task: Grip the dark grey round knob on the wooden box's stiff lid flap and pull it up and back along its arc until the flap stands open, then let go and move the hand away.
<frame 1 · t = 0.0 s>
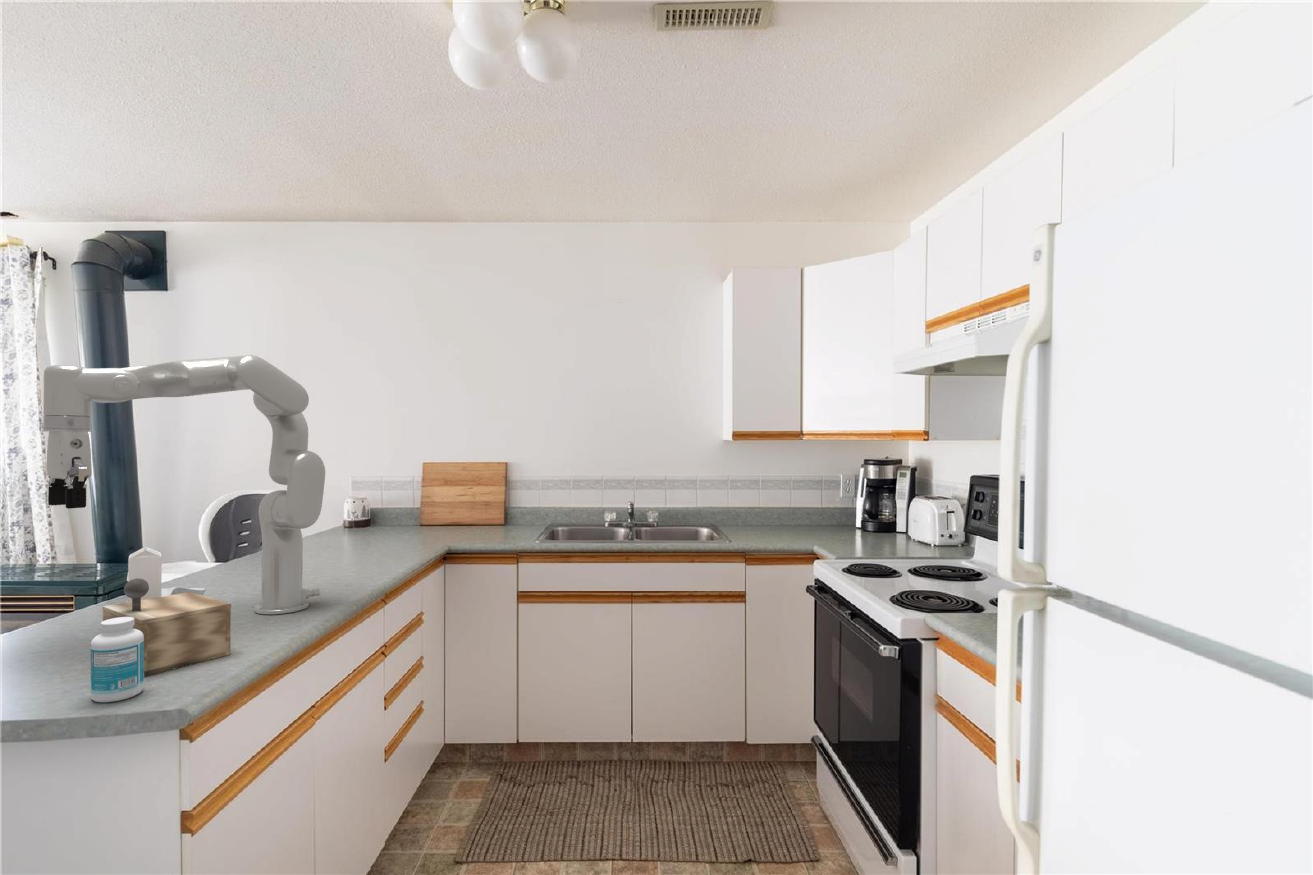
hand: (67, 506, 140), 31 cm above the countertop, tool pointing down, fingers open, 9 cm apart
spoon rest: (173, 611, 177), on the countertop
pill bottle: (117, 696, 119), on the countertop
wooden box: (167, 657, 139), on the countertop
flap: (167, 591, 139), point 14 cm above the countertop, hinge at 0.0°
milk: (144, 639, 152), on the countertop
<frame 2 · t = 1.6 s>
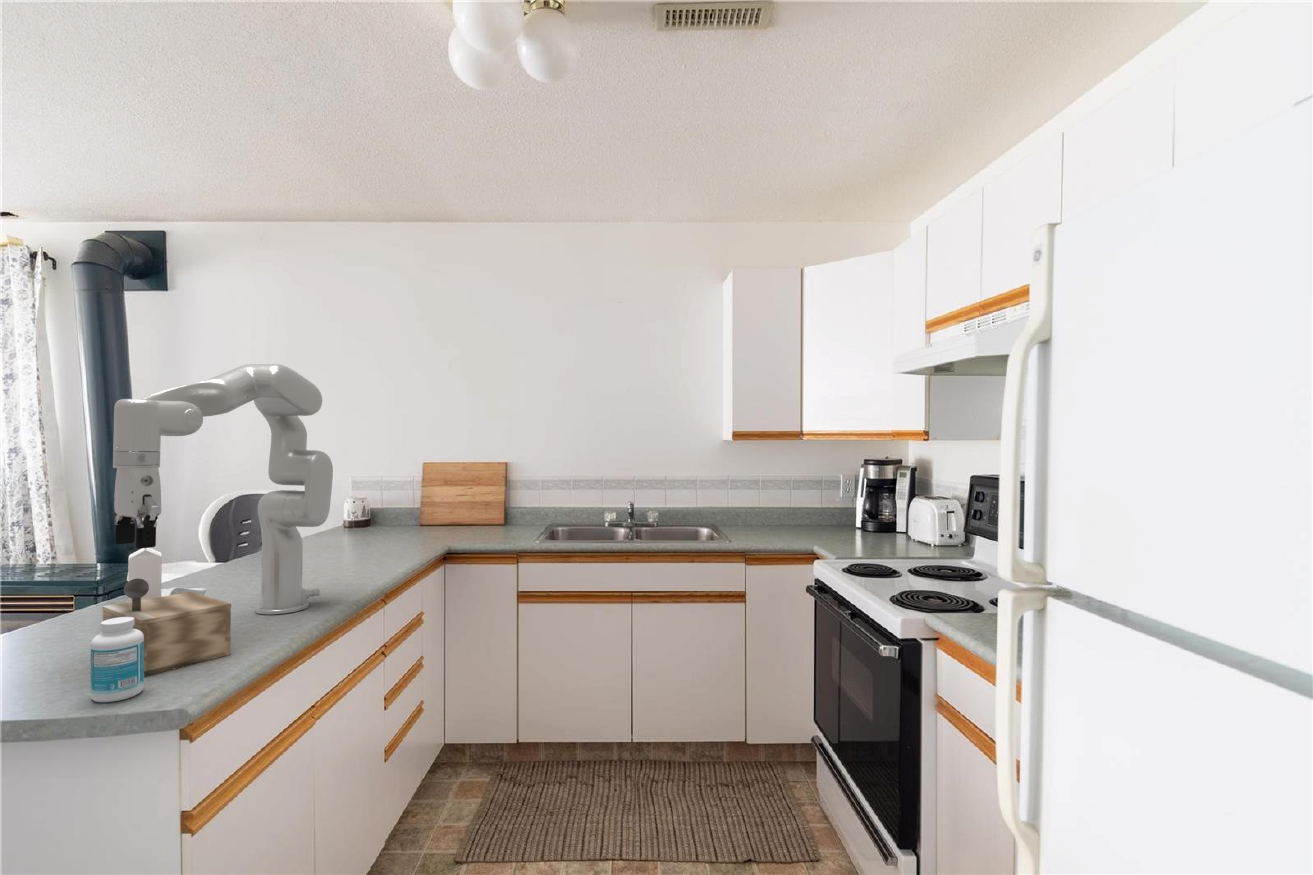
hand: (135, 545, 134), 24 cm above the countertop, tool pointing down, fingers open, 9 cm apart
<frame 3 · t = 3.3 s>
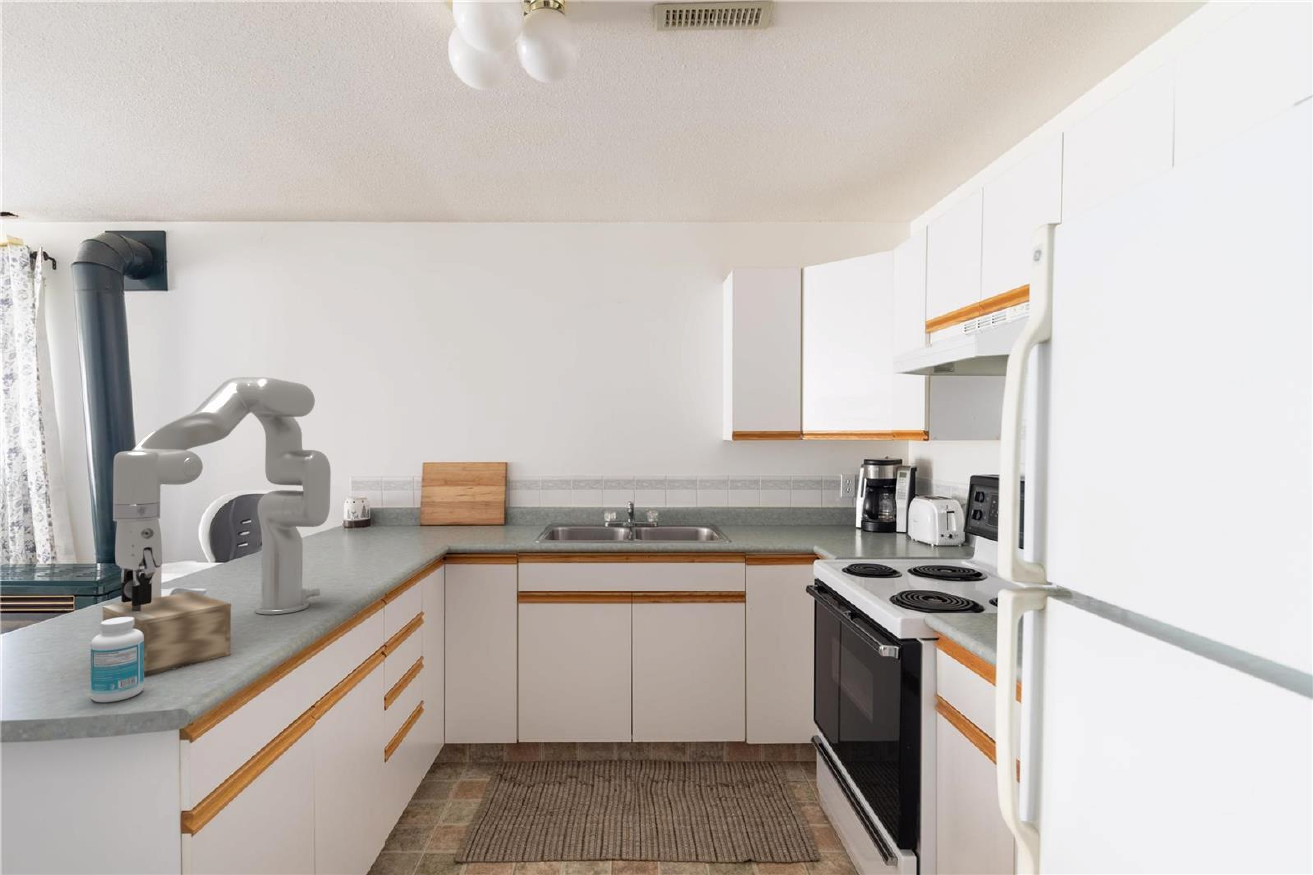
hand: (136, 601, 135), 13 cm above the countertop, tool pointing down, fingers closed on flap, 4 cm apart
flap: (167, 591, 139), point 14 cm above the countertop, hinge at 0.0°, touching gripper
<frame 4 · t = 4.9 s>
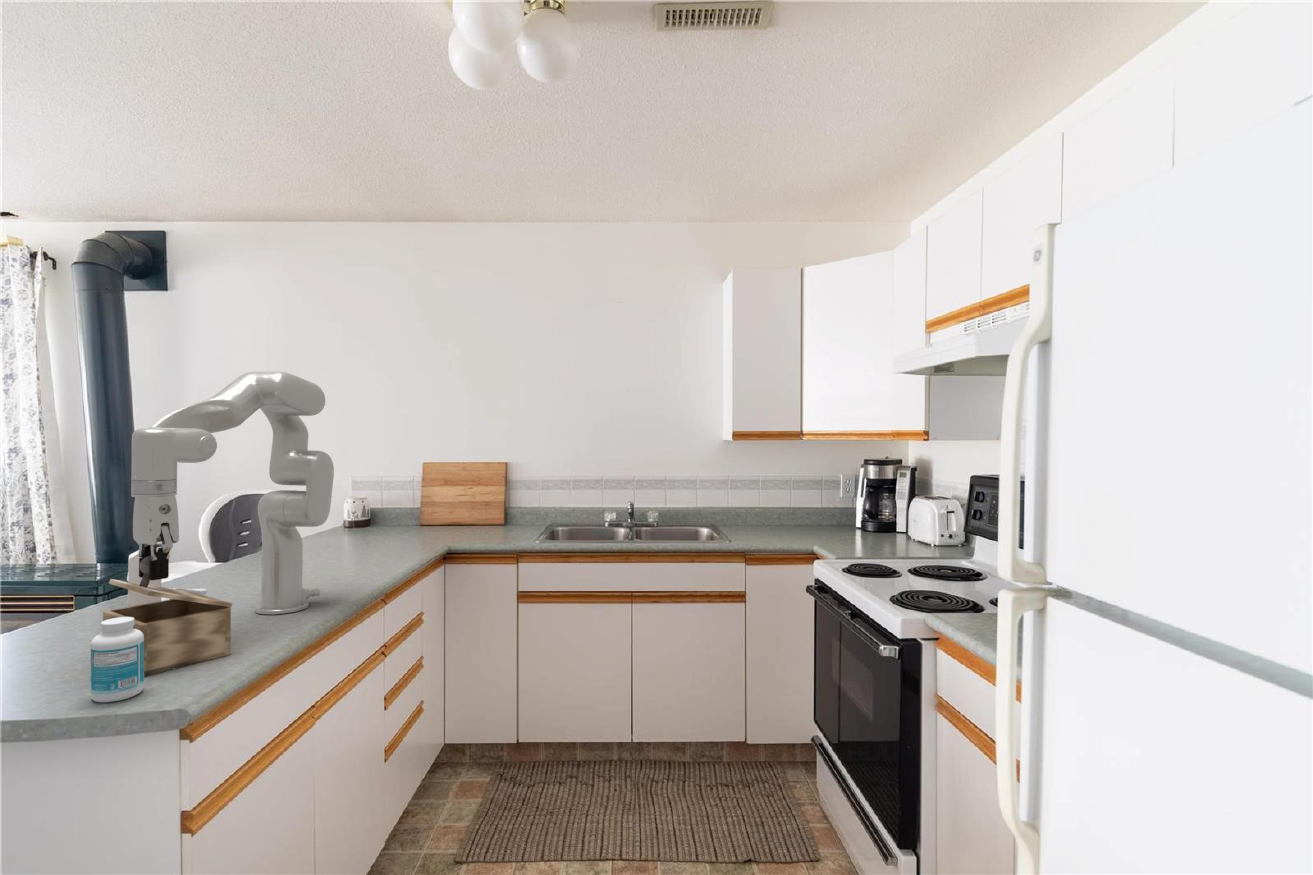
hand: (153, 576, 137), 17 cm above the countertop, tool pointing down, fingers closed on flap, 4 cm apart
flap: (177, 578, 141), point 16 cm above the countertop, hinge at 20.0°, touching gripper
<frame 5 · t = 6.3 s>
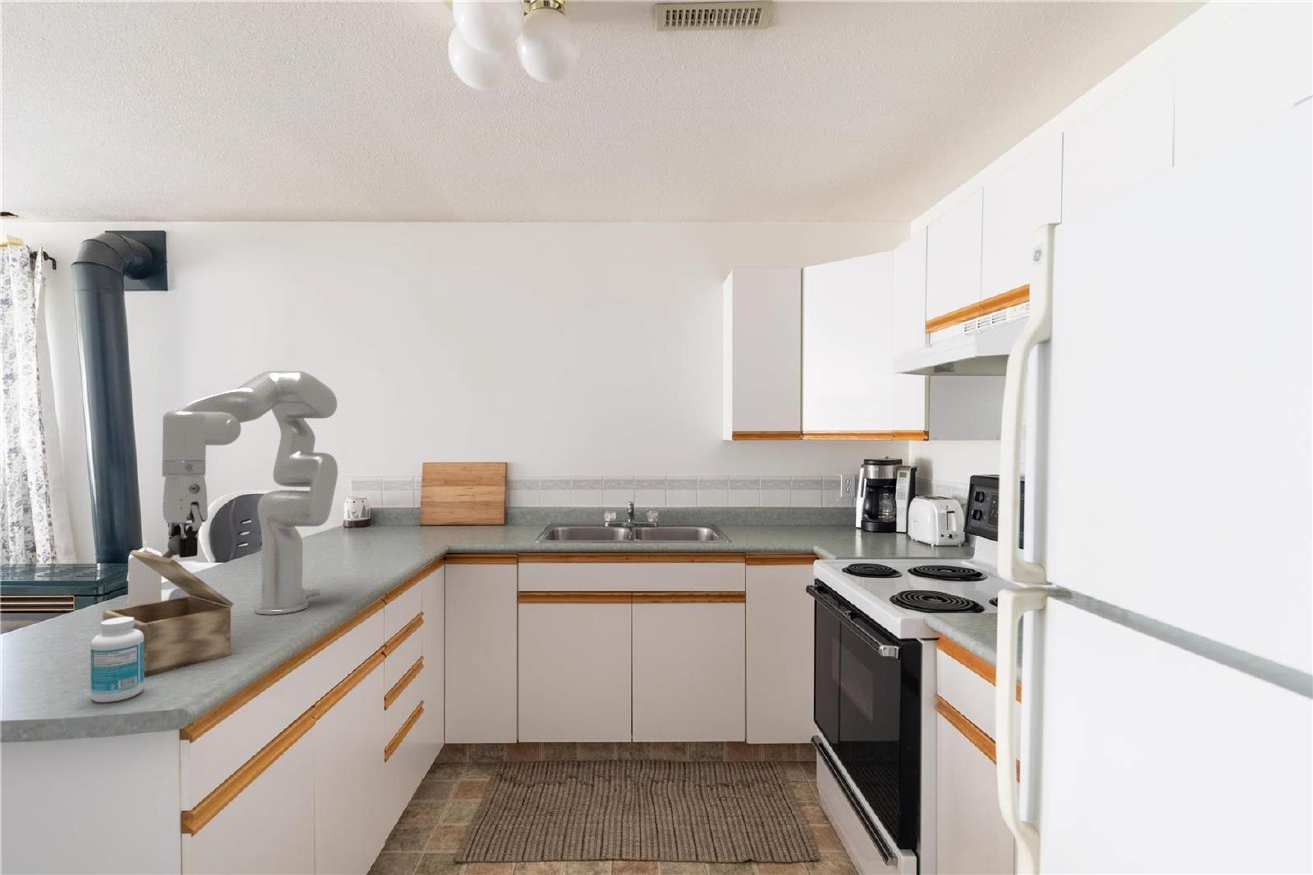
hand: (183, 554, 142), 21 cm above the countertop, tool pointing down, fingers closed on flap, 4 cm apart
flap: (193, 566, 143), point 18 cm above the countertop, hinge at 44.2°, touching gripper
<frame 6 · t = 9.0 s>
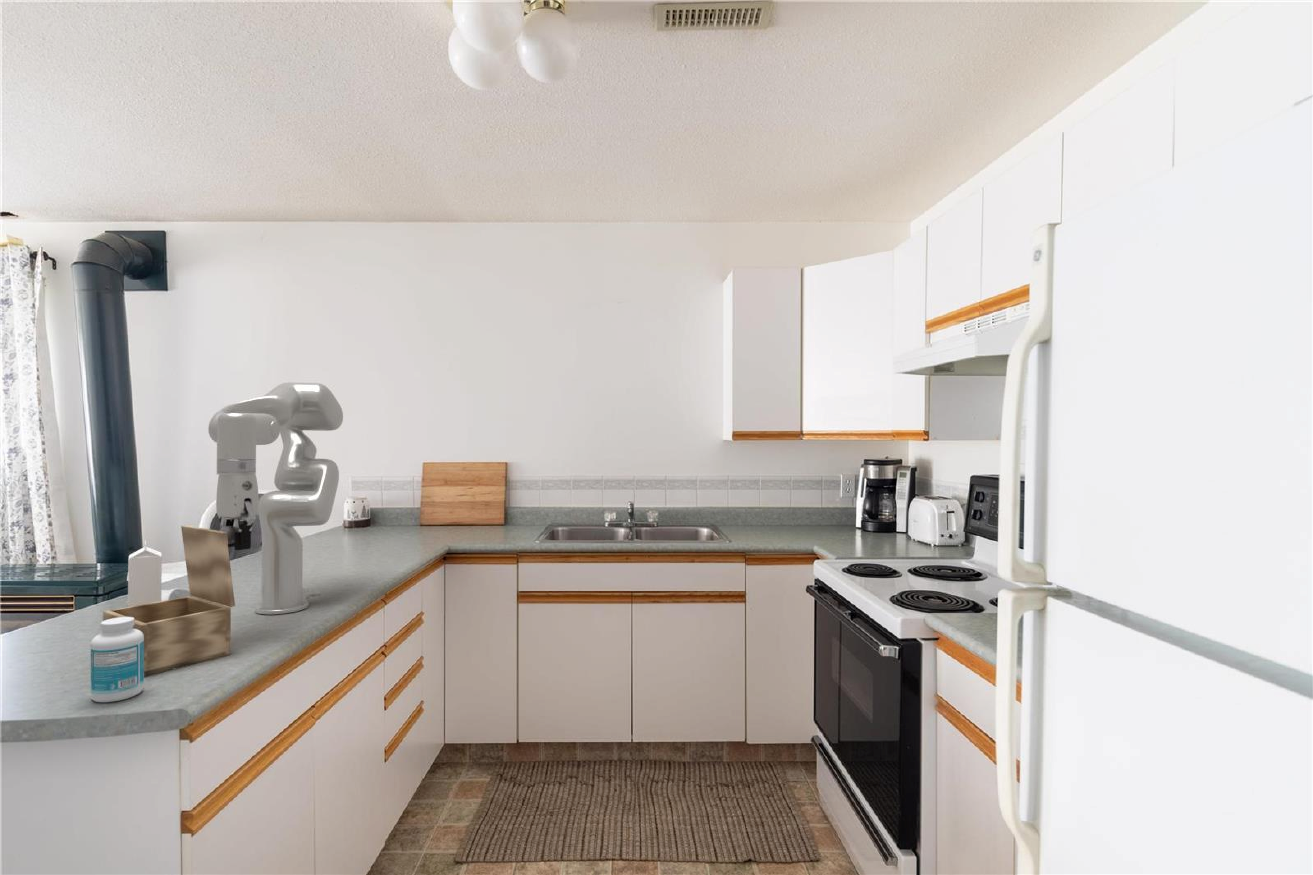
hand: (235, 547, 150), 21 cm above the countertop, tool pointing down, fingers open, 5 cm apart
flap: (223, 561, 148), point 18 cm above the countertop, hinge at 83.2°
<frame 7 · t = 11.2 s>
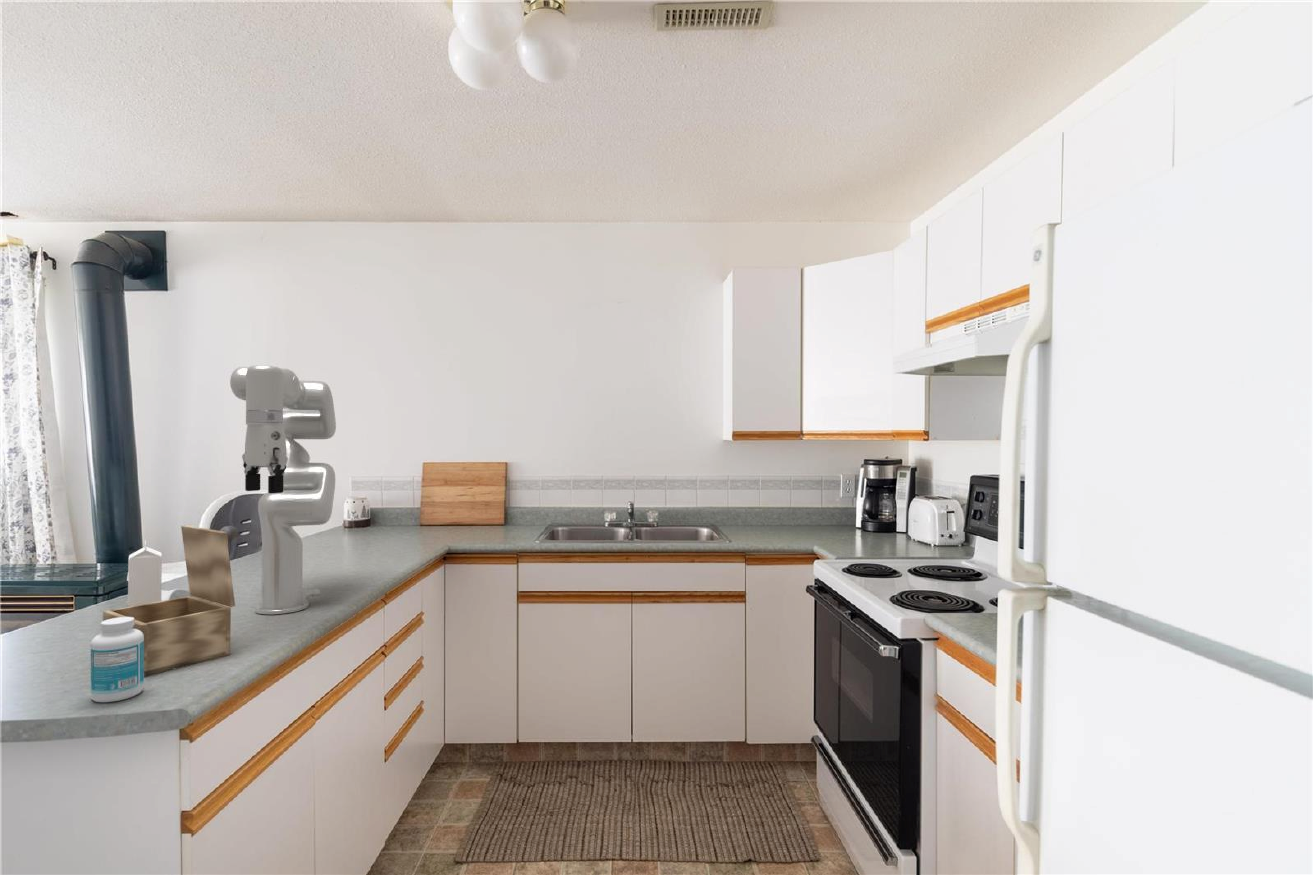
hand: (264, 491, 156), 33 cm above the countertop, tool pointing down, fingers open, 9 cm apart
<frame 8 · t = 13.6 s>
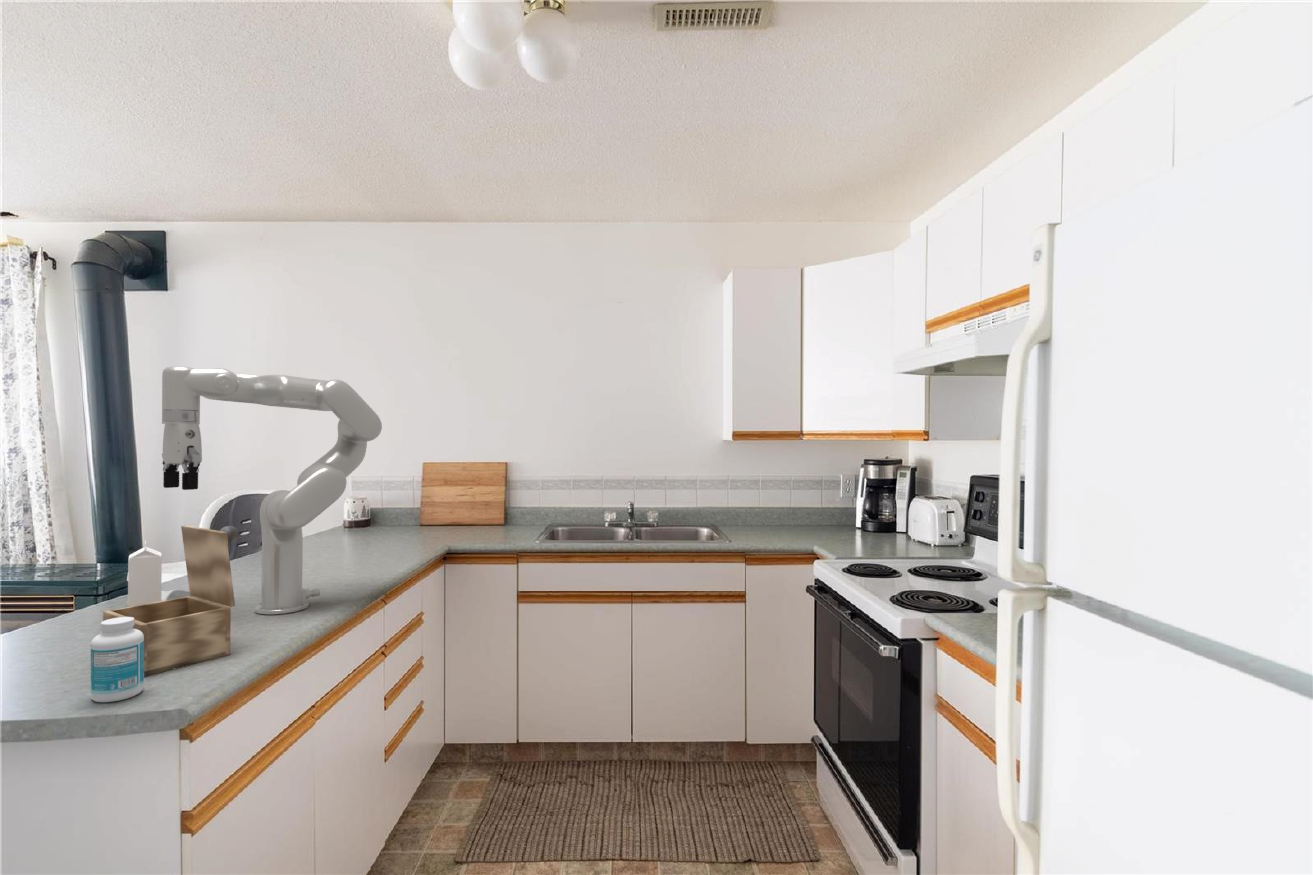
hand: (180, 488, 162), 33 cm above the countertop, tool pointing down, fingers open, 9 cm apart
at the end: flap at +83° (first picture: +0°); the gripper is holding nothing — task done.
